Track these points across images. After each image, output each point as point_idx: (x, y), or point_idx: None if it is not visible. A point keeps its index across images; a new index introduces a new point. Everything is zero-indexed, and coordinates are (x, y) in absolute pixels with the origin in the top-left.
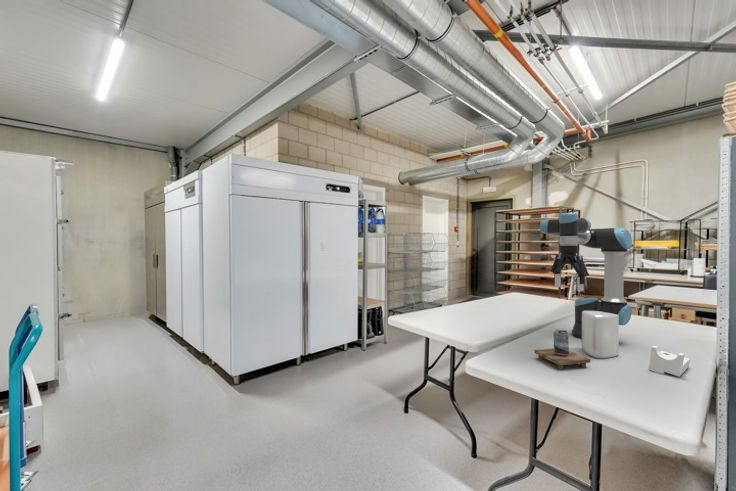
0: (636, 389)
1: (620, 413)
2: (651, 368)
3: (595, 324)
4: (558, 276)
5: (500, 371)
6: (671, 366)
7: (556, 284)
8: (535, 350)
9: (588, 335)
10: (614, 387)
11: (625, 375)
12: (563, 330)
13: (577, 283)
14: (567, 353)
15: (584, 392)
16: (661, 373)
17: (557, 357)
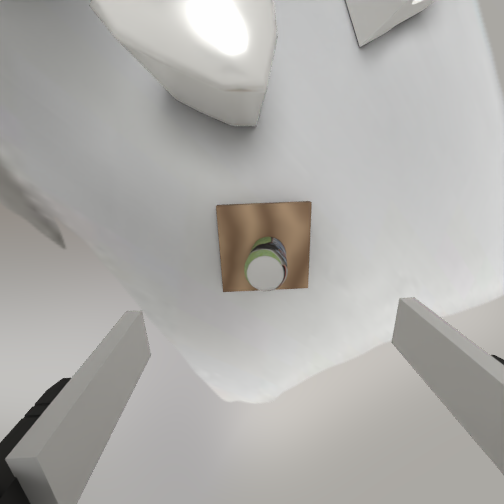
0: (418, 197)
1: (458, 300)
2: (368, 40)
3: (259, 100)
4: (81, 441)
5: (278, 378)
6: (424, 4)
7: (139, 369)
8: (226, 291)
9: (219, 109)
10: (396, 233)
11: (362, 152)
12: (283, 277)
13: (444, 401)
14: (285, 250)
15: (390, 300)
16: (385, 32)
17: None
